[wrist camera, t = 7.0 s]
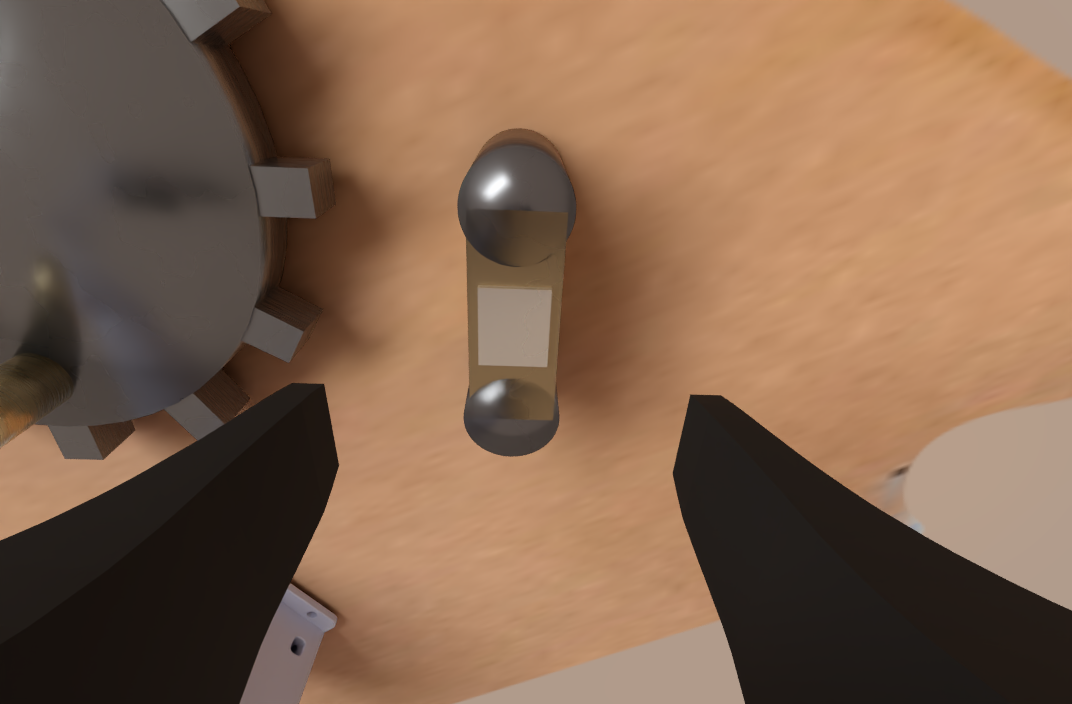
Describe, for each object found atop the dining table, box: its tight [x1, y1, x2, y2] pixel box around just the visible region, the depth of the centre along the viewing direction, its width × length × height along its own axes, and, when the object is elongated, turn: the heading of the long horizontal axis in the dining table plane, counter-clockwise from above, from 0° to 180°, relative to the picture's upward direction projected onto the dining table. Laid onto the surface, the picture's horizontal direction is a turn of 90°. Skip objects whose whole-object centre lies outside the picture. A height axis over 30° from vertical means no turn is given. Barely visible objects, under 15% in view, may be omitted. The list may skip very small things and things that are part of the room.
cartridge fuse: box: [458, 128, 576, 456], centre depth 16 cm, size 10×3×5 cm, turn 178°
